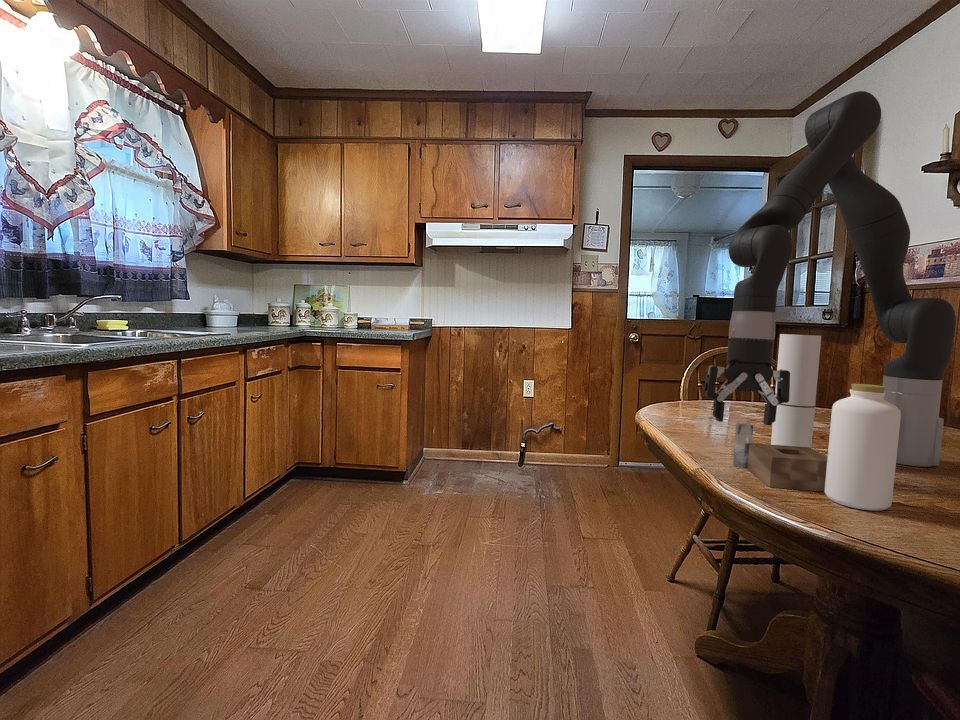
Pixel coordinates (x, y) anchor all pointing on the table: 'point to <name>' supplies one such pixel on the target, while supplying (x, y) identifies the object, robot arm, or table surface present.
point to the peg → (742, 443)
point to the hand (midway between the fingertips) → (743, 422)
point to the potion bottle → (863, 449)
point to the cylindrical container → (797, 390)
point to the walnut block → (788, 466)
